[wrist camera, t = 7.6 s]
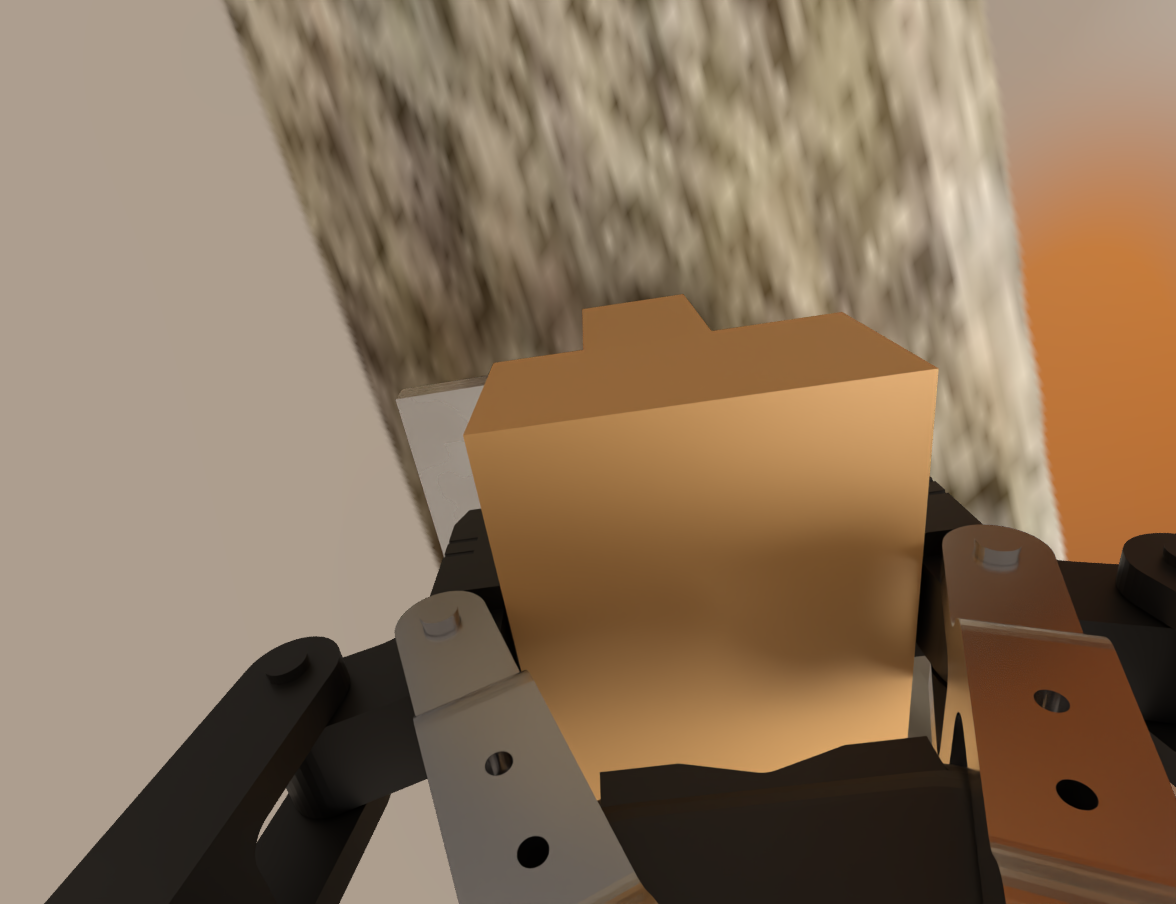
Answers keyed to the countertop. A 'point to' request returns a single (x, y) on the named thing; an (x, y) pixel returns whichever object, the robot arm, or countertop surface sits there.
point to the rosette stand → (442, 447)
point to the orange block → (710, 533)
